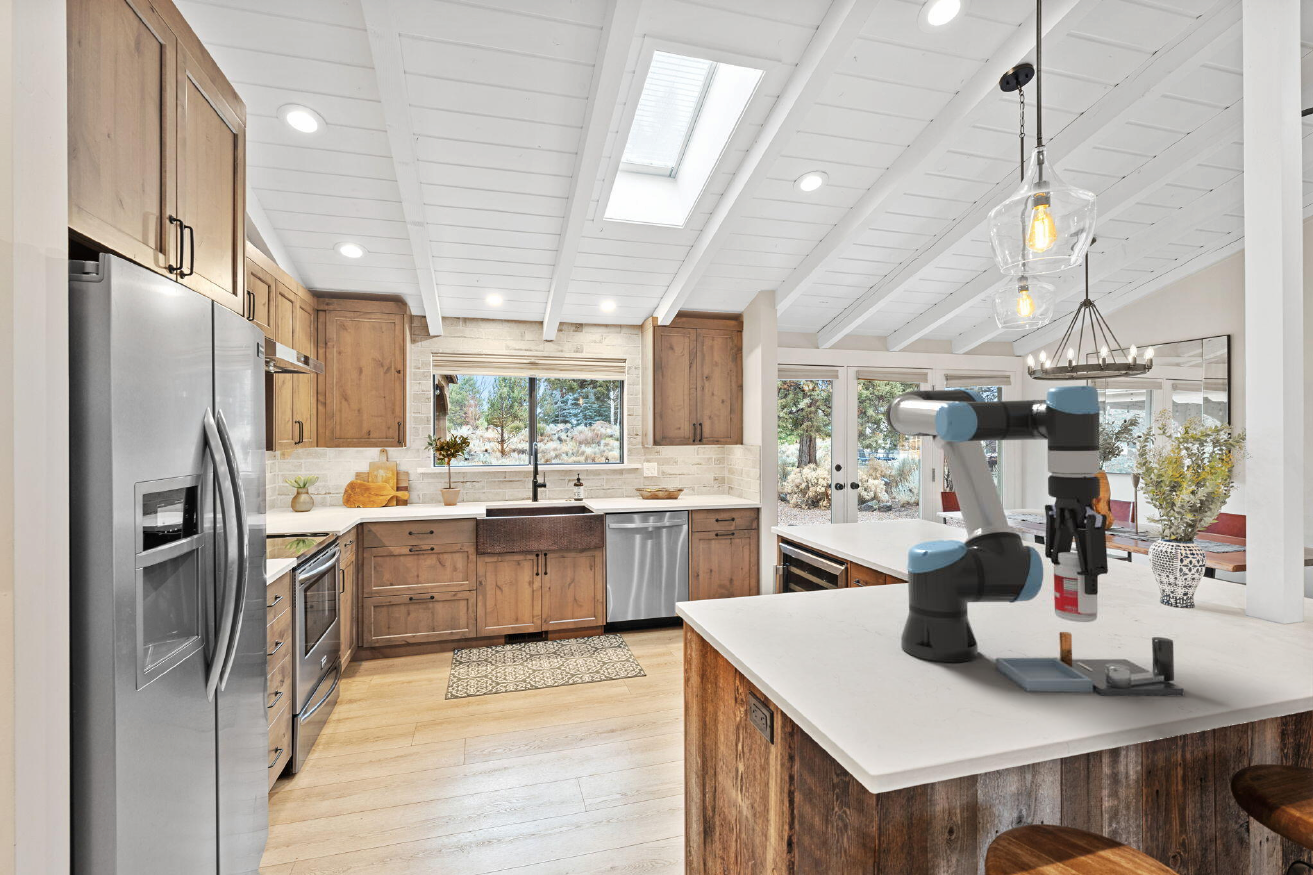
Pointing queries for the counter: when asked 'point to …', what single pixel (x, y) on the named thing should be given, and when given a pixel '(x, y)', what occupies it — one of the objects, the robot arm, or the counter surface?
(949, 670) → the counter surface
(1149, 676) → the crank
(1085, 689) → the tray
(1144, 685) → the dial plate
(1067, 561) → the pill bottle
